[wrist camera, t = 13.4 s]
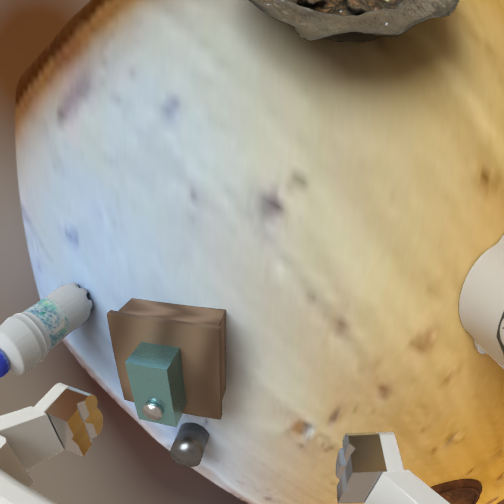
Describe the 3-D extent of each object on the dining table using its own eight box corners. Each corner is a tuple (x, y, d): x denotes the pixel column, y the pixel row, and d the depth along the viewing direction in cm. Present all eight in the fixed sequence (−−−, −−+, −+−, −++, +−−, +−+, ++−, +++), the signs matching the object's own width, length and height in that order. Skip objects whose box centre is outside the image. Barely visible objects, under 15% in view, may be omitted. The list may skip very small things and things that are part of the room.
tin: (208, 425, 47) (199, 451, 41) (209, 443, 48) (201, 469, 42) (178, 420, 47) (167, 445, 42) (181, 438, 49) (171, 462, 43)
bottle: (67, 315, 44) (-17, 382, 25) (60, 275, 43) (-36, 334, 23) (100, 322, 44) (17, 401, 25) (94, 280, 42) (-4, 350, 23)
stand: (229, 306, 40) (218, 330, 34) (229, 391, 44) (220, 419, 38) (128, 294, 42) (106, 313, 36) (140, 376, 45) (124, 399, 40)
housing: (180, 347, 36) (164, 374, 31) (186, 403, 38) (174, 431, 33) (141, 341, 36) (121, 365, 31) (151, 396, 39) (136, 422, 34)
